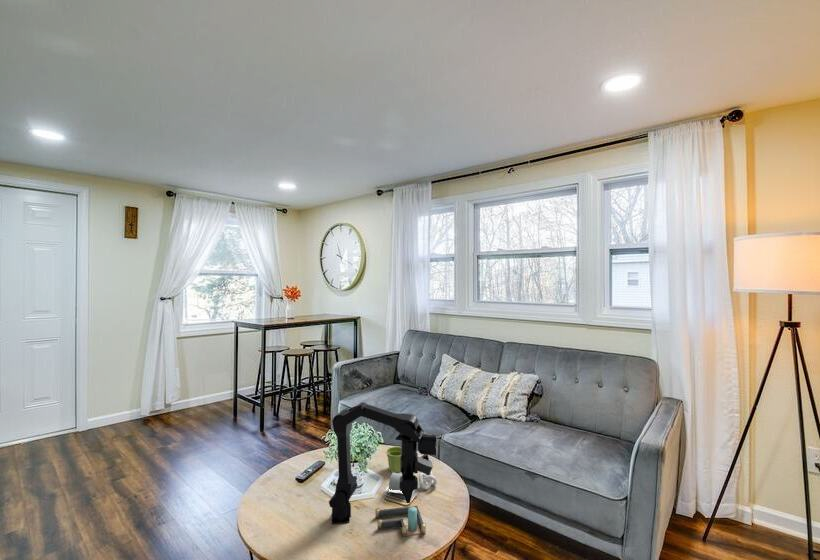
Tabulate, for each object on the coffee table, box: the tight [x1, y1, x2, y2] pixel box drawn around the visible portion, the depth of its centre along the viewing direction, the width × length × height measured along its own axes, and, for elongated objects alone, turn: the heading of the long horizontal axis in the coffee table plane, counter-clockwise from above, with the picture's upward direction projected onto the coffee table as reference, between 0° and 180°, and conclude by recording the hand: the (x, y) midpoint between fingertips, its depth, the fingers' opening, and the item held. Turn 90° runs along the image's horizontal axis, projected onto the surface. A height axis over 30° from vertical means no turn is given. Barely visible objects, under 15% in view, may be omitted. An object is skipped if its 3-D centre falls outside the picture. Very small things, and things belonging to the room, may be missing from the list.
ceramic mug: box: [388, 472, 402, 491], centre depth 163 cm, size 11×8×8 cm
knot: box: [418, 470, 438, 491], centre depth 167 cm, size 8×8×6 cm
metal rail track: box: [374, 505, 427, 538], centre depth 140 cm, size 16×14×3 cm
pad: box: [404, 523, 422, 536], centre depth 138 cm, size 5×5×1 cm
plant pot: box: [385, 446, 401, 473], centre depth 181 cm, size 9×9×9 cm
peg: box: [407, 506, 418, 532], centre depth 138 cm, size 3×3×7 cm
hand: (408, 495), depth 139 cm, fingers open, 9 cm apart
